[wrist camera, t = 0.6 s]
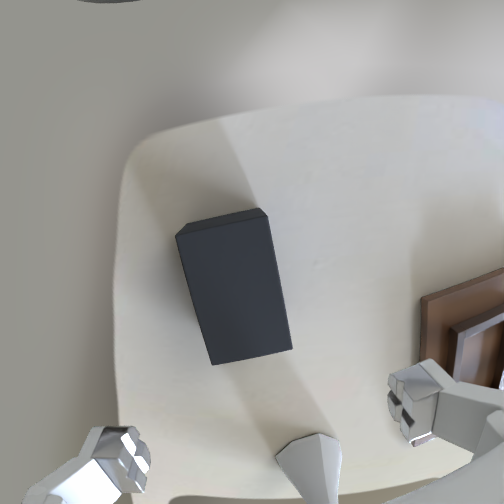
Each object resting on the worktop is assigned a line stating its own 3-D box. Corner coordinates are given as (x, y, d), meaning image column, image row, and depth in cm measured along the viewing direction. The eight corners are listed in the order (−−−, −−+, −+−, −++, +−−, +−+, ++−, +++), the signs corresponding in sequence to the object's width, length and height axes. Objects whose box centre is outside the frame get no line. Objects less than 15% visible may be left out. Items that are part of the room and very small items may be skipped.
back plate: (420, 297, 26) (436, 308, 23) (520, 259, 26) (536, 266, 24) (409, 441, 31) (418, 455, 28) (498, 396, 31) (508, 406, 28)
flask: (298, 480, 31) (313, 546, 21) (263, 454, 29) (272, 530, 19) (351, 452, 30) (378, 517, 20) (321, 422, 28) (348, 497, 19)
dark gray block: (186, 223, 23) (174, 235, 18) (260, 207, 23) (267, 214, 19) (214, 332, 25) (211, 366, 21) (282, 318, 25) (293, 349, 21)
